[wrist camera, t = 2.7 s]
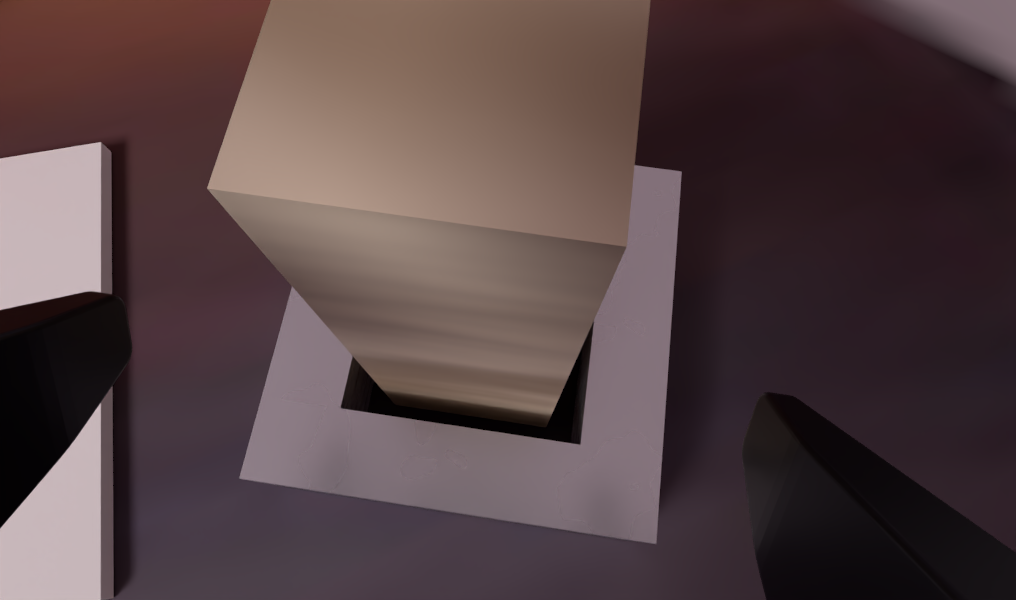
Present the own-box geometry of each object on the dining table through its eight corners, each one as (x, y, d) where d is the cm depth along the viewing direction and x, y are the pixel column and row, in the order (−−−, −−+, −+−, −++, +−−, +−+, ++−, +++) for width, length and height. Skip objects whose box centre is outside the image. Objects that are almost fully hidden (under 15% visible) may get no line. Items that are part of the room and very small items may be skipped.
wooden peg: (545, 427, 19) (626, 247, 7) (394, 404, 19) (206, 189, 7) (564, 285, 21) (657, -75, 8) (424, 265, 21) (310, -117, 8)
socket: (631, 541, 18) (656, 543, 15) (279, 485, 18) (239, 478, 16) (657, 218, 21) (681, 171, 18) (358, 177, 22) (336, 125, 19)
